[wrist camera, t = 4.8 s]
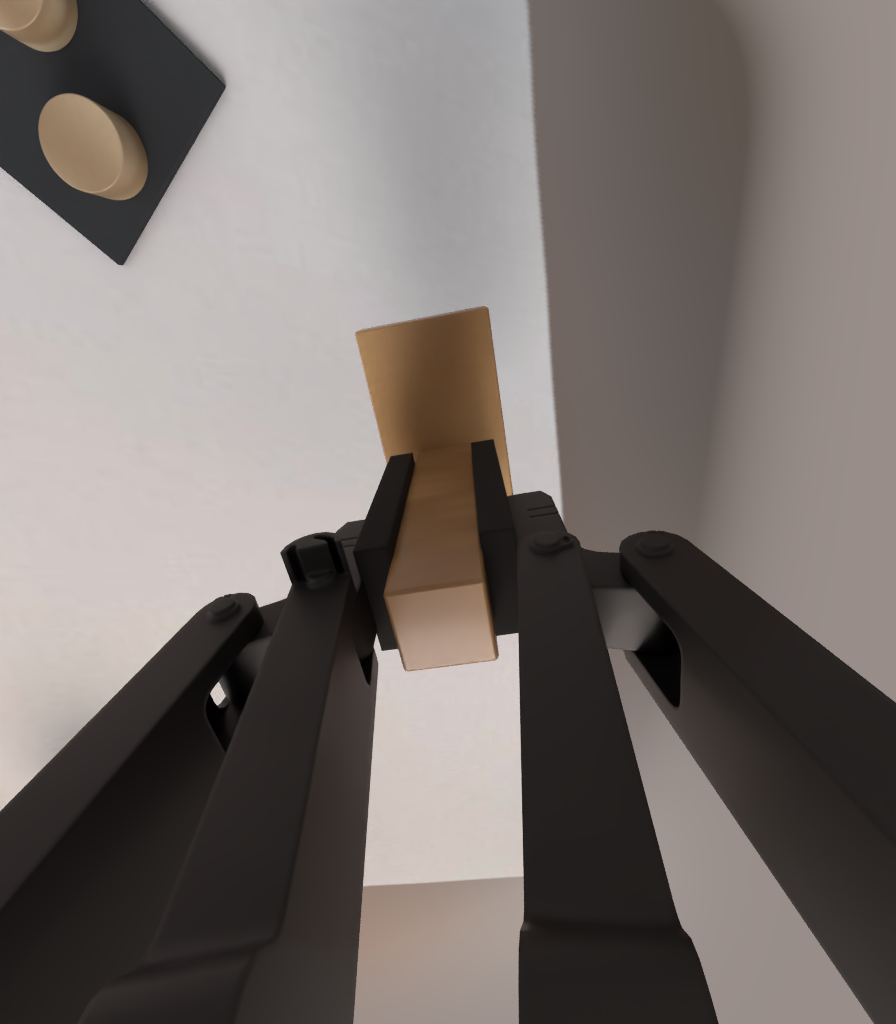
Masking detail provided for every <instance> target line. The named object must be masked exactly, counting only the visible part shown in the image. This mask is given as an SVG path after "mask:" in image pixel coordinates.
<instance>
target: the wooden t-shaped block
mask: <svg viewBox="0 0 896 1024" xmlns="http://www.w3.org/2000/svg"><path fill="white" fill-rule="evenodd" d="M355 335H356V339H357V344H358V348H359V352H360V356H361V360H362V364H363V368H364V372H365V376H366V381H367V385H368V389H369V393H370V397H371V401H372V405H373V409H374V413H375V418H376V422H377V426H378V430H379V434H380V438H381V442H382V446H383V450H384V455H385V459H386V463H387V464H388V461H389V459H390V456H395V455H401V454H407V453H413V457H414V462H415V466H414V470H413V474H412V478H411V482H410V486H409V490H408V495H407V499H406V503H405V507H404V511H403V515H402V519H401V524H400V528H399V532H398V536H397V540H396V544H395V548H394V553H393V557H392V561H391V565H390V569H389V573H388V577H387V581H386V586H385V590H384V594H383V596H384V600H385V603H386V607H387V610H388V614H389V617H390V621H391V625H392V628H393V632H394V635H395V639H396V643H397V646H398V650H399V653H400V657H401V660H402V664H403V667H404V669H405V671H414V670H422V669H430V668H438V667H445V666H453V665H461V664H469V663H477V662H485V661H493V660H496V659H498V656H499V654H498V645H497V636H496V628H495V619H494V614H493V608H492V602H491V596H490V590H489V584H488V578H487V572H486V567H485V561H484V555H483V551H482V549H481V543H480V537H479V529H478V518H477V507H476V495H475V484H474V473H473V462H472V450H471V443H472V442H478V441H484V440H490V439H494V443H495V447H496V452H497V456H498V460H499V464H500V468H501V472H502V476H503V481H504V485H505V489H506V493H507V496H510V495H513V490H512V483H511V475H510V468H509V460H508V453H507V445H506V438H505V430H504V423H503V415H502V408H501V400H500V393H499V385H498V378H497V370H496V363H495V355H494V348H493V340H492V333H491V325H490V318H489V310H488V308H487V307H486V306H481V307H475V308H470V309H465V310H460V311H455V312H449V313H444V314H439V315H434V316H429V317H424V318H418V319H413V320H408V321H403V322H398V323H392V324H387V325H382V326H377V327H372V328H366V329H362V330H360V331H357V332H356V333H355Z"/></svg>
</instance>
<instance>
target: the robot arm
mask: <svg viewBox="0 0 896 1024" xmlns="http://www.w3.org/2000/svg"><path fill="white" fill-rule="evenodd" d="M471 450H472V462H473V473H474V484H475V495H476V507H477V518H478V529H479V537H480V543H481V549H482V551H483V555H484V561H485V567H486V572H487V578H488V584H489V590H490V596H491V602H492V608H493V614H494V619H495V628H496V636H498V635H506V634H513V633H519V678H520V725H521V772H522V819H523V866H524V922H523V924H522V927H521V930H520V941H519V1024H718V1020H717V1016H716V1013H715V1009H714V1006H713V1002H712V999H711V995H710V992H709V988H708V985H707V982H706V979H705V975H704V972H703V969H702V966H701V962H700V959H699V957H698V954H697V952H696V949H695V947H694V945H693V942H692V940H691V938H690V937H689V936H688V934H687V933H686V932H685V931H684V930H683V929H682V927H681V925H680V921H679V919H678V916H677V913H676V909H675V906H674V902H673V899H672V895H671V891H670V887H669V883H668V879H667V876H666V872H665V868H664V864H663V860H662V856H661V852H660V849H659V845H658V841H657V837H656V833H655V830H654V826H653V822H652V818H651V815H650V810H649V807H648V803H647V799H646V795H645V791H644V787H643V784H642V780H641V776H640V772H639V768H638V764H637V761H636V757H635V753H634V749H633V745H632V741H631V737H630V734H629V730H628V726H627V722H626V718H625V714H624V711H623V707H622V703H621V699H620V695H619V691H618V688H617V684H616V680H615V676H614V672H613V669H612V664H611V662H610V657H609V653H608V649H607V648H611V649H621V650H623V652H624V654H625V657H626V659H627V661H628V662H629V663H630V665H631V667H632V668H633V669H634V671H635V672H636V674H637V675H638V677H639V678H640V680H641V681H642V683H643V684H644V686H645V687H646V689H647V690H648V691H649V693H650V695H651V696H652V697H653V699H654V700H655V702H656V703H657V705H658V706H659V708H660V709H661V711H662V712H663V714H664V715H665V717H666V718H667V720H668V721H669V723H670V724H671V725H672V727H673V728H674V730H675V731H676V733H677V734H678V736H679V737H680V739H681V740H682V742H683V743H684V744H685V746H686V748H687V749H688V750H689V752H690V753H691V755H692V756H693V758H694V759H695V761H696V762H697V764H698V765H699V767H700V768H701V770H702V771H703V772H704V774H705V775H706V777H707V778H708V780H709V781H710V783H711V784H712V786H713V787H714V789H715V790H716V792H717V793H718V795H719V796H720V798H721V799H722V800H723V802H724V803H725V805H726V806H727V808H728V809H729V811H730V812H731V814H732V815H733V817H734V818H735V820H736V821H737V823H738V824H739V825H740V827H741V828H742V830H743V831H744V833H745V834H746V836H747V837H748V839H749V840H750V842H751V843H752V844H753V846H754V848H755V849H756V851H757V852H758V853H759V855H760V856H761V858H762V859H763V861H764V862H765V864H766V865H767V866H768V868H769V870H770V871H771V873H772V874H773V876H774V877H775V879H776V880H777V881H778V883H779V884H780V886H781V887H782V889H783V890H784V892H785V893H786V895H787V896H788V898H789V899H790V900H791V902H792V904H793V905H794V906H795V908H796V909H797V911H798V912H799V913H800V915H801V916H802V918H803V920H804V921H805V922H806V924H807V926H808V927H809V928H810V930H811V931H812V933H813V934H814V936H815V937H816V939H817V940H818V942H819V943H820V945H821V946H822V948H823V949H824V950H825V952H826V954H827V955H828V957H829V958H830V959H831V961H832V962H833V964H834V965H835V967H836V968H837V970H838V971H839V973H840V974H841V976H842V977H843V978H844V980H845V982H846V983H847V984H848V986H849V987H850V989H851V990H852V992H853V993H854V995H855V996H856V998H857V999H858V1001H859V1002H860V1004H861V1005H862V1006H863V1008H864V1010H865V1011H866V1012H867V1014H868V1015H869V1017H870V1018H871V1020H872V1021H873V1023H874V1024H896V703H895V702H894V701H893V700H891V699H890V698H889V697H887V696H886V695H885V694H884V693H882V692H881V691H880V690H879V689H877V688H876V687H875V686H873V685H872V684H871V683H870V682H868V681H867V680H866V679H864V678H863V677H862V676H861V675H859V674H858V673H857V672H856V671H854V670H853V669H852V668H850V667H849V666H848V665H847V664H845V663H844V662H843V661H842V660H840V659H839V658H838V657H836V656H835V655H834V654H833V653H831V652H830V651H829V650H827V649H826V648H825V647H823V646H822V645H821V644H820V643H819V642H817V641H816V640H815V639H813V638H812V637H811V636H809V635H808V634H807V633H806V632H804V631H803V630H802V629H801V628H799V627H798V626H797V625H795V624H794V623H793V622H792V621H790V620H789V619H788V618H786V617H785V616H784V615H783V614H781V613H780V612H779V611H778V610H776V609H775V608H774V607H772V606H771V605H770V604H768V603H767V602H766V601H765V600H763V599H762V598H761V597H760V596H758V595H757V594H756V593H755V592H753V591H752V590H751V589H749V588H748V587H747V586H746V585H744V584H743V583H742V582H740V581H739V580H738V579H736V578H735V577H734V576H733V575H731V574H730V573H729V572H728V571H726V570H725V569H724V568H723V567H721V566H720V565H719V564H717V563H716V562H715V561H713V560H712V559H711V558H710V557H708V556H707V555H706V554H705V553H703V552H702V551H700V550H699V549H698V548H697V547H695V546H694V545H693V544H692V543H690V542H689V541H688V540H686V539H684V538H682V537H681V536H679V535H676V534H671V533H668V532H664V531H647V532H640V533H636V534H633V535H631V536H628V537H627V538H625V539H624V540H623V541H622V542H621V545H620V547H619V552H620V553H608V552H595V551H591V550H586V549H584V548H581V546H580V542H579V541H578V539H577V538H576V537H575V536H573V535H571V534H570V533H568V532H567V530H566V528H565V526H564V524H563V521H562V519H561V517H560V515H559V514H558V510H557V508H556V507H555V504H554V502H553V499H552V497H551V496H549V495H547V494H546V493H544V492H542V491H536V492H529V493H523V494H516V495H510V496H507V493H506V489H505V485H504V481H503V476H502V472H501V468H500V464H499V460H498V456H497V452H496V447H495V443H494V439H490V440H484V441H478V442H472V443H471ZM414 466H415V462H414V457H413V453H407V454H401V455H395V456H390V459H389V461H388V464H387V466H386V469H385V471H384V474H383V476H382V479H381V481H380V484H379V486H378V489H377V491H376V494H375V496H374V499H373V502H372V504H371V507H370V509H369V512H368V514H367V517H366V519H365V520H359V521H353V522H347V523H346V524H345V525H344V526H343V527H341V528H340V529H339V530H338V531H337V532H336V533H330V532H322V533H315V534H311V535H308V536H304V537H302V538H300V539H297V540H295V541H293V542H292V543H290V544H289V545H287V546H286V547H285V548H284V549H283V550H282V551H281V556H282V559H283V561H284V564H285V567H286V569H287V572H288V575H289V578H290V580H291V583H292V586H291V589H290V591H289V594H288V597H287V598H286V599H283V600H281V601H278V602H275V603H272V604H269V605H266V606H263V607H260V608H259V606H258V604H257V601H256V599H255V597H254V596H253V595H251V594H249V593H237V594H228V595H225V596H224V597H219V598H217V599H215V600H214V601H213V602H211V603H209V604H208V605H206V606H205V607H203V608H202V609H201V610H200V611H198V612H197V613H196V614H195V615H194V616H193V617H192V618H191V619H190V620H189V621H188V622H187V623H186V624H185V625H184V626H183V627H182V628H181V629H180V630H179V631H178V632H177V633H176V634H175V635H174V636H173V637H172V638H171V639H170V640H169V641H168V642H167V643H166V644H165V645H164V646H163V647H162V649H161V650H160V651H159V652H158V653H157V654H156V655H155V656H154V657H153V658H152V659H151V660H150V661H149V662H148V663H147V664H146V665H145V666H144V667H143V668H142V669H141V670H140V671H139V672H138V673H137V674H136V675H135V676H134V677H133V678H132V679H131V680H130V681H129V682H128V683H127V684H126V685H125V686H124V687H123V688H122V689H121V690H120V691H119V692H118V693H117V694H116V695H115V696H114V697H113V698H112V699H111V700H110V701H109V702H108V703H107V704H106V705H105V706H104V707H103V708H102V709H101V710H100V711H99V712H98V713H97V714H96V715H95V716H94V717H93V718H92V719H91V720H90V721H89V722H88V723H87V724H86V725H85V726H84V727H83V728H82V729H81V730H80V731H79V732H78V733H77V734H76V735H75V736H74V737H73V738H72V739H71V740H70V741H69V742H68V744H67V745H66V746H65V747H64V748H63V749H62V750H61V751H60V752H59V753H58V754H57V755H56V756H55V757H54V758H53V759H52V760H51V761H50V762H49V763H48V764H47V765H46V766H45V767H44V768H43V769H42V770H41V771H40V772H39V773H38V774H37V775H36V776H35V777H34V778H33V779H32V780H31V781H30V782H29V783H28V784H27V785H26V786H25V787H24V788H23V789H22V790H21V791H20V792H19V793H18V794H17V795H16V796H15V797H14V798H13V799H12V800H11V801H10V802H9V803H8V804H7V805H6V806H5V807H4V808H3V809H2V810H1V811H0V1024H353V1018H354V1004H355V989H356V975H357V961H358V947H359V933H360V918H361V904H362V890H363V876H364V861H365V847H366V833H367V819H368V804H369V790H370V776H371V762H372V747H373V733H374V719H375V704H376V690H377V676H378V661H377V657H376V653H375V650H374V647H373V646H374V642H375V637H376V633H377V636H378V639H379V643H380V646H381V649H382V651H384V650H392V649H398V646H397V643H396V639H395V635H394V632H393V628H392V625H391V621H390V617H389V614H388V610H387V607H386V603H385V600H384V596H383V594H384V590H385V586H386V581H387V577H388V573H389V569H390V565H391V561H392V557H393V553H394V548H395V544H396V540H397V536H398V532H399V528H400V524H401V519H402V515H403V511H404V507H405V503H406V499H407V495H408V490H409V486H410V482H411V478H412V474H413V470H414ZM218 681H219V683H220V685H221V687H222V689H223V691H224V693H225V695H226V697H225V698H224V700H223V701H222V702H221V703H220V704H219V705H218V706H217V705H216V704H215V703H214V701H213V699H212V697H211V695H210V693H211V691H212V689H213V688H214V686H215V685H216V684H217V683H218Z"/></svg>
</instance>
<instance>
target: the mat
mask: <svg viewBox="0 0 896 1024" xmlns="http://www.w3.org/2000/svg"><path fill="white" fill-rule="evenodd" d="M76 1H77V8H78V20H77V26H76V30H75V33H74V35H73V37H72V39H71V40H70V42H69V43H68V44H67V45H66V46H65V47H63V48H61V49H60V50H57V51H52V52H43V51H38V50H35V49H33V48H31V47H29V46H27V45H25V44H23V43H22V42H20V41H18V40H17V39H15V38H13V37H11V36H10V35H8V34H6V33H5V32H3V31H1V30H0V167H1V168H2V169H4V170H5V171H6V172H7V173H8V174H10V175H11V176H12V177H13V178H15V179H16V180H17V181H18V182H19V183H21V184H22V185H23V186H24V187H25V188H27V189H28V190H29V191H30V192H31V193H33V194H34V195H35V196H36V197H37V198H39V199H40V200H41V201H42V202H43V203H45V204H46V205H47V206H48V207H49V208H51V209H52V210H53V211H54V212H56V213H57V214H58V215H59V216H60V217H62V218H63V219H64V220H65V221H66V222H68V223H69V224H70V225H71V226H72V227H74V228H75V229H76V230H77V231H78V232H80V233H81V234H82V235H83V236H84V237H86V238H87V239H88V240H89V241H90V242H92V243H93V244H94V245H95V246H97V247H98V248H99V249H100V250H101V251H103V252H104V253H105V254H106V255H107V256H109V257H110V258H111V259H112V260H113V261H115V262H116V263H117V264H118V265H123V264H124V263H125V261H126V259H127V257H128V256H129V254H130V252H131V251H132V249H133V247H134V245H135V244H136V242H137V240H138V238H139V237H140V235H141V233H142V232H143V230H144V228H145V226H146V225H147V223H148V221H149V219H150V218H151V216H152V214H153V212H154V211H155V209H156V207H157V206H158V204H159V202H160V200H161V199H162V197H163V195H164V193H165V192H166V190H167V188H168V187H169V185H170V183H171V181H172V180H173V178H174V176H175V174H176V173H177V171H178V169H179V167H180V166H181V164H182V162H183V161H184V159H185V157H186V155H187V154H188V152H189V150H190V148H191V147H192V145H193V143H194V142H195V140H196V138H197V136H198V135H199V133H200V131H201V129H202V128H203V126H204V124H205V122H206V121H207V119H208V117H209V116H210V114H211V112H212V110H213V109H214V107H215V105H216V103H217V102H218V100H219V98H220V97H221V95H222V93H223V91H224V90H225V88H226V86H225V85H224V84H223V83H222V82H221V81H220V80H219V79H218V78H217V77H216V76H215V75H214V74H213V73H212V72H211V71H210V70H209V69H208V68H207V67H206V66H205V65H204V64H203V63H202V62H201V61H200V60H199V59H198V58H197V57H196V56H195V55H194V54H193V53H192V52H191V51H190V50H189V49H188V48H187V47H186V46H185V45H184V44H183V43H182V42H181V41H180V40H179V39H178V38H177V37H176V36H175V35H174V34H173V33H172V32H171V31H170V30H169V29H168V28H167V27H166V26H165V25H164V24H163V23H162V22H161V21H160V20H159V19H158V18H157V17H156V16H155V15H154V14H153V13H152V12H151V11H150V10H149V9H148V8H147V7H146V6H145V5H144V4H143V3H142V2H141V1H140V0H76ZM65 93H73V94H79V95H81V96H84V97H86V98H88V99H90V100H92V101H94V102H96V103H98V104H100V105H101V106H103V107H105V108H107V109H109V110H111V111H113V112H114V113H116V114H118V115H120V116H121V117H122V118H124V119H125V120H126V121H127V122H128V123H129V124H130V125H131V126H132V127H133V128H134V130H135V131H136V132H137V134H138V135H139V137H140V139H141V141H142V143H143V145H144V148H145V151H146V155H147V160H148V174H147V178H146V182H145V184H144V186H143V188H142V189H141V190H140V192H139V193H138V194H136V195H135V196H134V197H132V198H130V199H126V200H112V199H108V198H105V197H101V196H97V195H94V194H90V193H87V192H83V191H80V190H78V189H76V188H74V187H72V186H70V185H69V184H68V183H66V182H65V181H64V180H63V179H62V178H61V177H59V176H58V174H57V173H56V172H55V171H54V170H53V168H52V167H51V166H50V164H49V162H48V161H47V159H46V157H45V155H44V153H43V150H42V147H41V143H40V139H39V130H38V126H39V118H40V114H41V112H42V109H43V108H44V106H45V104H46V103H47V102H48V101H49V100H50V99H51V98H53V97H55V96H57V95H60V94H65Z"/></svg>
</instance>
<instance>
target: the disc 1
mask: <svg viewBox="0 0 896 1024" xmlns="http://www.w3.org/2000/svg"><path fill="white" fill-rule="evenodd" d="M77 20H78V8H77V1H76V0H0V30H1V31H3V32H5V33H6V34H8V35H10V36H11V37H13V38H15V39H17V40H18V41H20V42H22V43H23V44H25V45H27V46H29V47H31V48H33V49H35V50H38V51H43V52H52V51H57V50H60V49H61V48H63V47H65V46H66V45H67V44H68V43H69V42H70V40H71V39H72V37H73V35H74V33H75V30H76V26H77Z"/></svg>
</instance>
